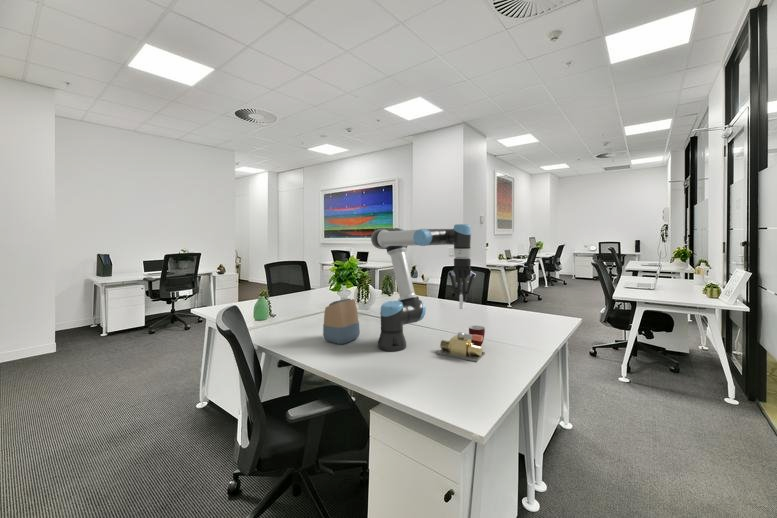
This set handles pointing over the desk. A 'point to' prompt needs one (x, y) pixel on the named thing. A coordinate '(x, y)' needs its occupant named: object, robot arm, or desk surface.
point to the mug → (478, 331)
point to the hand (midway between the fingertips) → (462, 308)
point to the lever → (470, 336)
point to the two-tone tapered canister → (341, 322)
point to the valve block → (461, 349)
